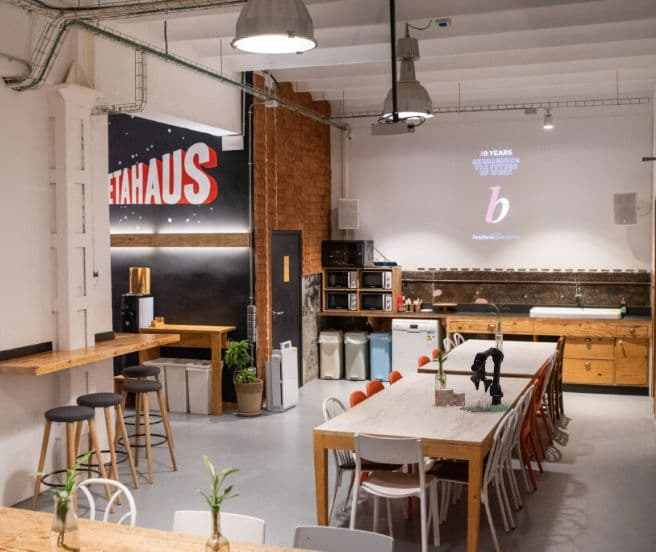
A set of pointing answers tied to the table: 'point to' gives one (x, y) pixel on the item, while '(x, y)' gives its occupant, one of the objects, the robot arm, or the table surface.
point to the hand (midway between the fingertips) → (481, 391)
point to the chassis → (475, 407)
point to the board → (499, 408)
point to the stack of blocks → (448, 397)
